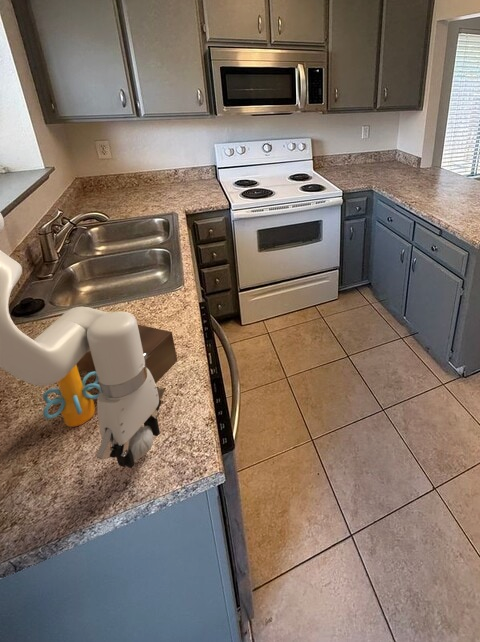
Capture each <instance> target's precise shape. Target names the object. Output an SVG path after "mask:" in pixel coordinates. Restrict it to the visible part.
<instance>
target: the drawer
mask: <svg viewBox="0 0 480 642" xmlns="http://www.w3.org/2000/svg"><path fill="white" fill-rule="evenodd" d="M89 352H91V351H89ZM89 352H87V353H86V354H85V355H84V356H83V357H82V358H81V359H80V361H79V362H78V363H77V364H76V365H77V368H78V371H83V372H86V373H90V372H93V368H92V365H91V361H90V358H89V354H88V353H89Z"/></svg>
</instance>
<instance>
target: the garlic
mask: <svg viewBox="0 0 480 642" xmlns="http://www.w3.org/2000/svg"><path fill="white" fill-rule="evenodd" d="M153 445H154V435H153V433H152V429H151V427H150V426H144V425H143V426H141V427H140V428H139V429H138V430H137V432H136V433H135V434H134V435H133V436H132V437H131V438H130V440H129V447H128V449H129V450H131V451H132V455H133V459H134V461H137V460H139V459H140V458H142V457H144V456H145V454H147V453H148V452H149V451H150V450H151V449H152V447H153Z"/></svg>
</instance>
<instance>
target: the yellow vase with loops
mask: <svg viewBox="0 0 480 642" xmlns="http://www.w3.org/2000/svg"><path fill="white" fill-rule="evenodd" d="M79 371H80V370H79V369H78V367H77V365H75V366H74V367H73V368H72V370H71V371H70V372H69V373H68V374H67V375H66V376H65V377H64V378H62V379H61V380H60V381H58V382H56V384H57V387H58V388H49V389H47V390H45V392H43V395H42V399H43V401H44V402H45V403H46V405H45V407H44V409H43V413H42V414H43V418H45V419H47V420H51V419H54V418H55V419H56V417H59V415H60V414H61V416H62V419H63V423H64V424H65V425H66V426H67V427H71V428H72V427H79V426H81V425H83V424H85V423H86V422H88V421H89V420H91V418H92V417H93V416H94V414H95V413H96V405H95V402H94V400H98V396H99V394H100V393H101V389H100V385H99V384H97V383H98V382H99V381H98V377H97V373H96V371H93V372H90V373H89V372H87V374H86V375H84V377H83V378H81V375H80V372H79ZM92 376H94V377H95V376H96V378H95V380H94V382H92V383H87V384H86V382H87V380H88V379H89V378H90V377H92ZM94 388H95V389H97V390H98V393H97V394H93V395H92V393H91V392H90V391H91V390H93V389H94ZM52 393H53V394H54V393H55V394H57V395H59V396H58V397H54V398H53V399H50V398H49V394H52ZM53 405H60V407H59V408H58V410H56V412H54V413H53V414H49V410H50V408H51V407H52V406H53Z"/></svg>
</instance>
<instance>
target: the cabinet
mask: <svg viewBox="0 0 480 642" xmlns="http://www.w3.org/2000/svg"><path fill="white" fill-rule="evenodd" d="M137 325H138V329H139V334H140V339H141V344H142V349H143V353H146V354H147V356H148V357H147V358H146V359H145V364H146V368H148V370H149V371H150V373H151V375H152V376H153V379H154V381H155V384H157V383H158V382H159V381H160V380H161V379H162V378H163V377H164V375H165V374H166V373H167V372H168V371H169V370H170V369H171V368H172V367H173V366H174V365H175V364H176V363H177V362H178V356H177V351H176V346H175V340H174V335H173V331H170V330H165V329H160V328H157V327H151V326H146V325H142V324H138V323H137ZM88 354H89V358H90V361H91V365H92V368H93V371H96V370H95V366H94V362H93V358H92V355H91V352H89V353H88ZM94 379H96V376H95V375H94ZM97 384H99V382H98V383H97Z"/></svg>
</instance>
